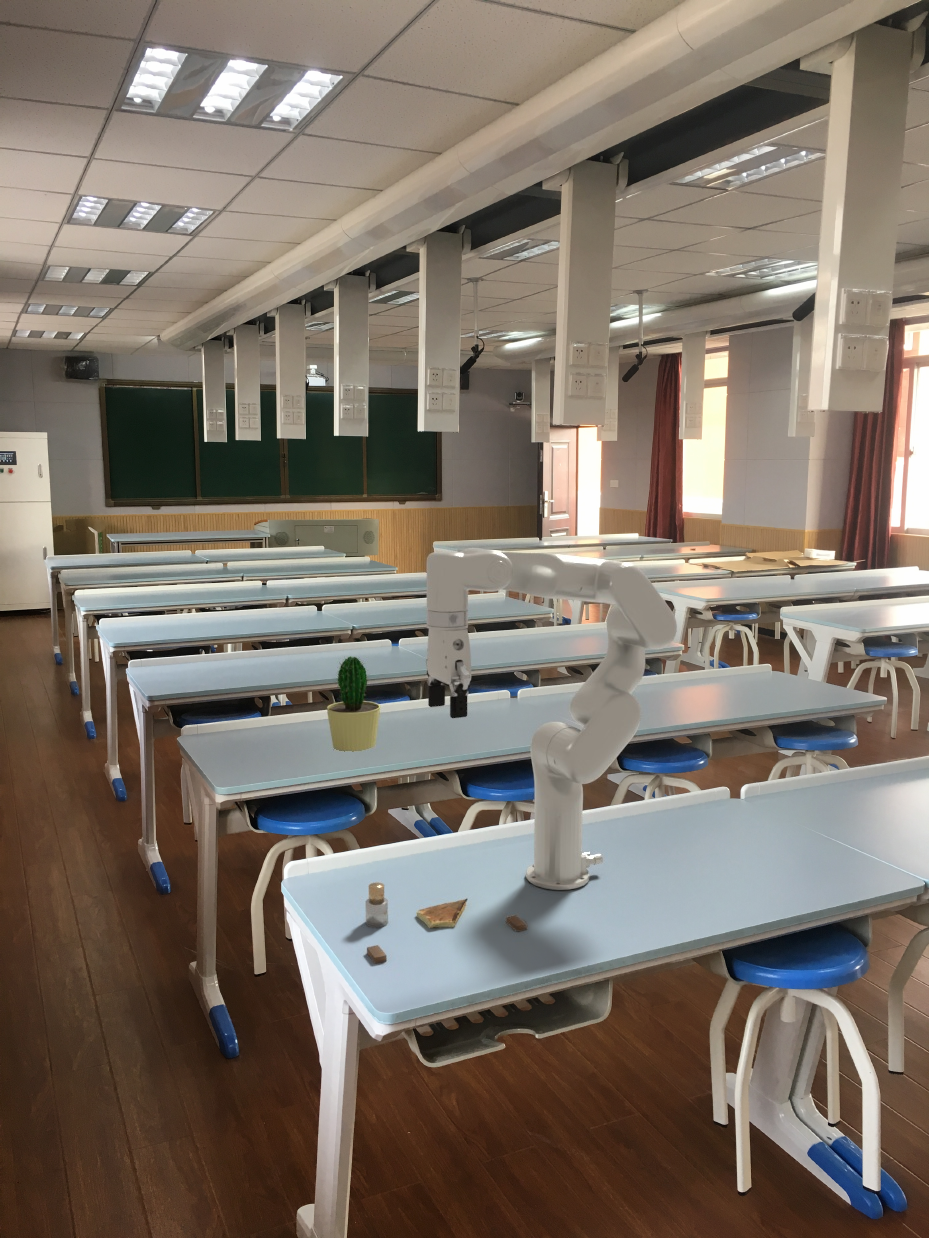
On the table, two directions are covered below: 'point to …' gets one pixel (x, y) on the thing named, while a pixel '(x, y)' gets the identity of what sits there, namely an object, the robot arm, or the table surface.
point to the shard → (442, 914)
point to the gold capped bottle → (376, 906)
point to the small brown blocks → (380, 956)
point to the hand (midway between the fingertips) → (447, 711)
